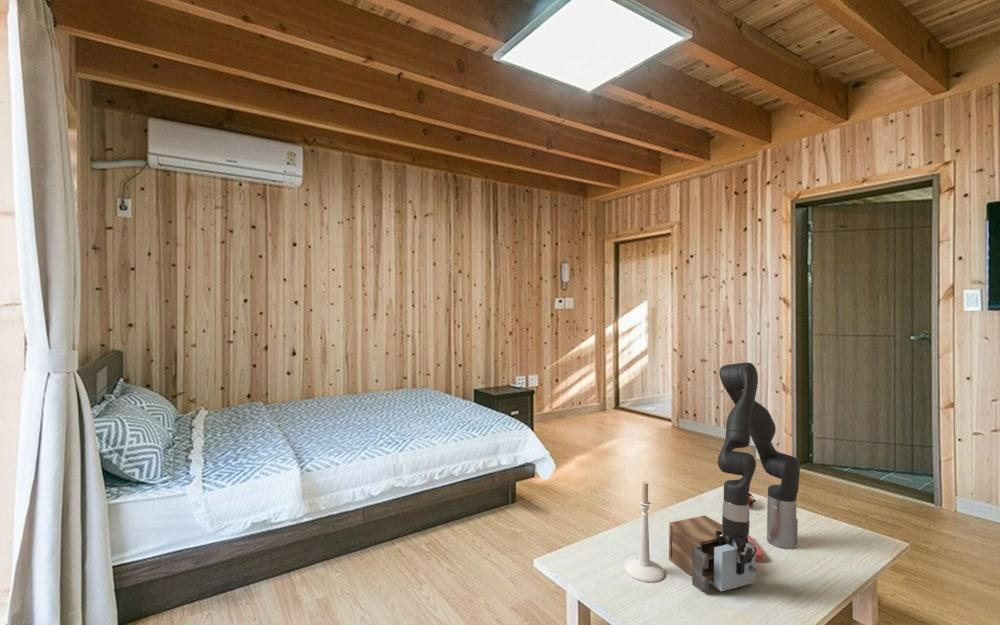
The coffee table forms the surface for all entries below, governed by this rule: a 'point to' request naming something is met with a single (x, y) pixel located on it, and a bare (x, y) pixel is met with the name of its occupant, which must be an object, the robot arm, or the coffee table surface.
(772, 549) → the coffee table surface
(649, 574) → the candlestick
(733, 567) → the door
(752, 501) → the dragon fruit
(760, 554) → the plaque
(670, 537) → the cabinet
